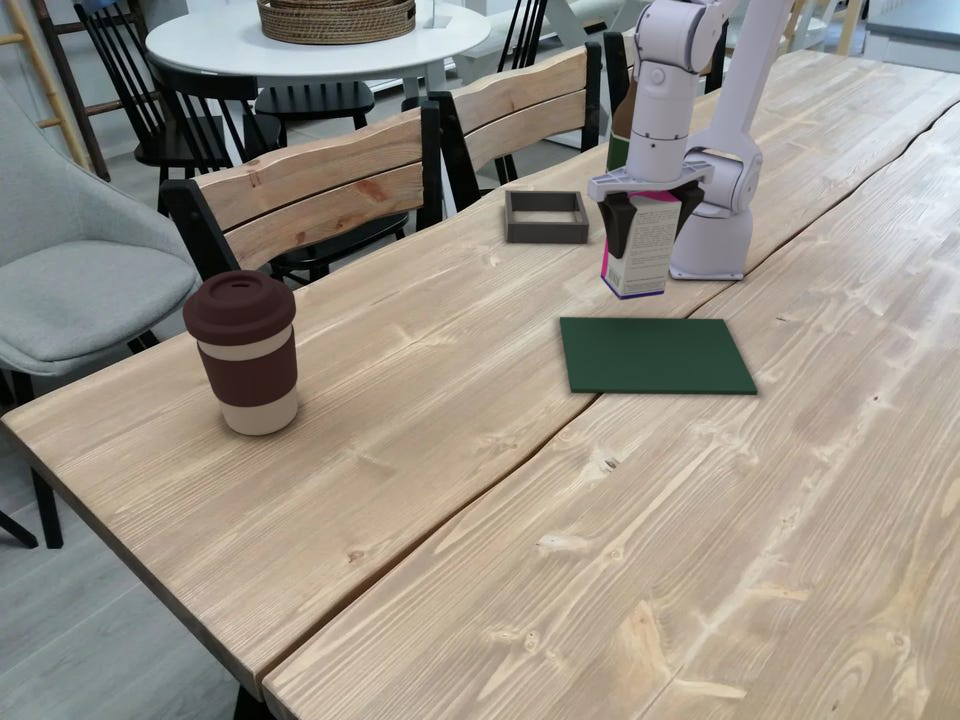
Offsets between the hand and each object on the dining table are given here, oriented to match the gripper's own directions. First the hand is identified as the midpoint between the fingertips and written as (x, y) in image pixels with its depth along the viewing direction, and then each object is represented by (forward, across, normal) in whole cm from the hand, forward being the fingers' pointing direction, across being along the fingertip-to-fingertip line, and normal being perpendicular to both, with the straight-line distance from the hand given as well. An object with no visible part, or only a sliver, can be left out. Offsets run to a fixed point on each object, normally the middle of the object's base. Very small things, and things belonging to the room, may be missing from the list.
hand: (640, 249), depth 83 cm
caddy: (+10, -3, -28) cm, 30 cm away
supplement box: (+5, 0, 0) cm, 5 cm away
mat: (+10, 0, +6) cm, 12 cm away
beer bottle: (+11, -20, -32) cm, 39 cm away
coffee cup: (+11, +44, 0) cm, 45 cm away
